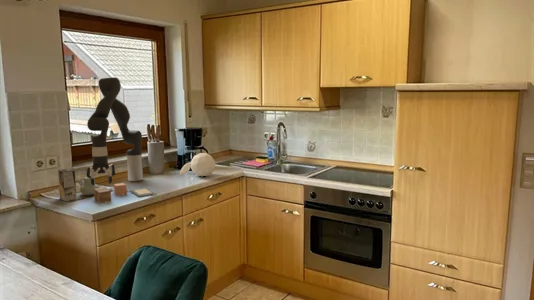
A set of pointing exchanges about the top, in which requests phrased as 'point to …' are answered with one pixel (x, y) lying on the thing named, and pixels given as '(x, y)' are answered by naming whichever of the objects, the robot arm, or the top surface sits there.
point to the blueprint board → (142, 192)
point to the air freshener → (88, 187)
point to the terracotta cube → (120, 189)
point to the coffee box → (67, 184)
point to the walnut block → (102, 195)
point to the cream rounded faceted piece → (200, 165)
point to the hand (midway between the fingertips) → (101, 184)
